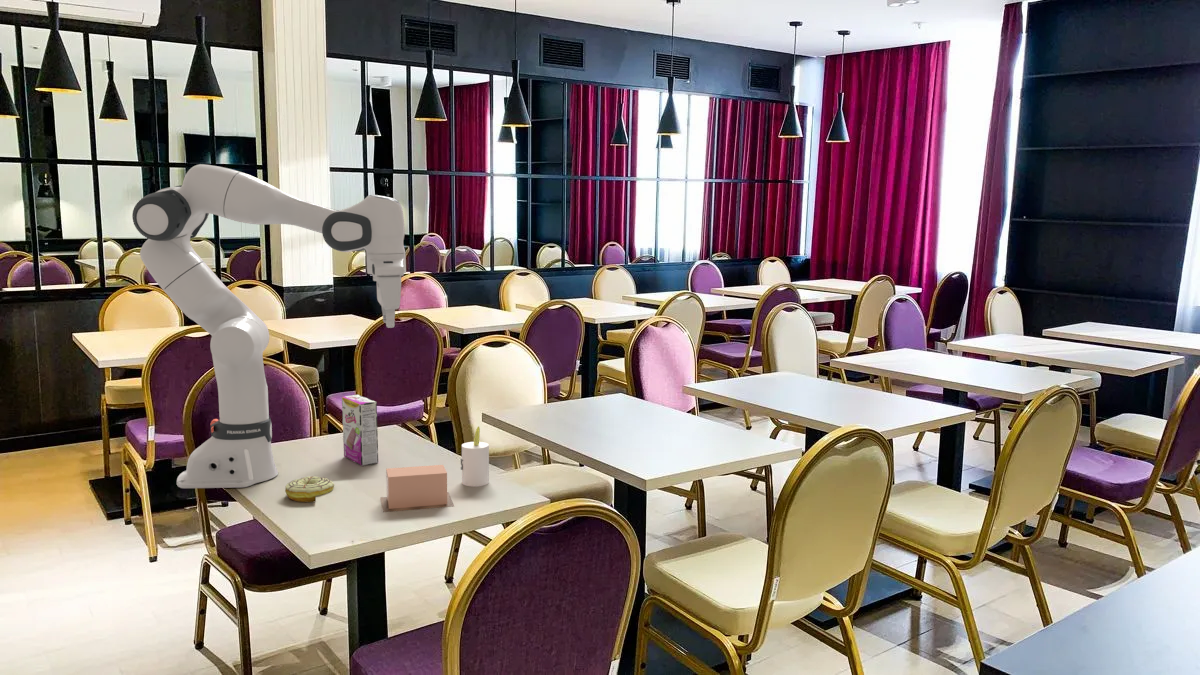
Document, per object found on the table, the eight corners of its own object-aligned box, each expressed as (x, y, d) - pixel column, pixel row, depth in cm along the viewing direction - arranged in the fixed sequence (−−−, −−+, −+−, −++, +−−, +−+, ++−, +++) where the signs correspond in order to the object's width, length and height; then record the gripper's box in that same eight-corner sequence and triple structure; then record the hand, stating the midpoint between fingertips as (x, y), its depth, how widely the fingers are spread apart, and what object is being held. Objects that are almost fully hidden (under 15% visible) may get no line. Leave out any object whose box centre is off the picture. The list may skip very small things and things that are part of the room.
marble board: (383, 518, 188) (382, 498, 187) (380, 504, 197) (380, 484, 197) (454, 512, 192) (454, 492, 192) (448, 498, 202) (448, 479, 201)
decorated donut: (339, 489, 208) (338, 473, 208) (328, 504, 198) (327, 487, 197) (293, 489, 208) (293, 473, 207) (280, 504, 197) (279, 487, 196)
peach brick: (388, 508, 190) (388, 477, 189) (386, 499, 196) (386, 468, 195) (447, 504, 193) (446, 473, 192) (443, 495, 200) (443, 464, 199)
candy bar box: (342, 457, 234) (340, 396, 232) (360, 454, 237) (358, 394, 235) (361, 466, 226) (359, 403, 223) (379, 463, 229) (377, 401, 227)
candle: (458, 485, 211) (458, 424, 209) (485, 483, 213) (485, 422, 211) (464, 493, 205) (463, 430, 203) (491, 491, 208) (491, 428, 206)
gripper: (369, 263, 215) (372, 320, 217) (375, 268, 196) (377, 331, 198) (396, 263, 217) (398, 319, 219) (404, 268, 198) (406, 329, 200)
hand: (388, 325), depth 208 cm, fingers open, 8 cm apart
